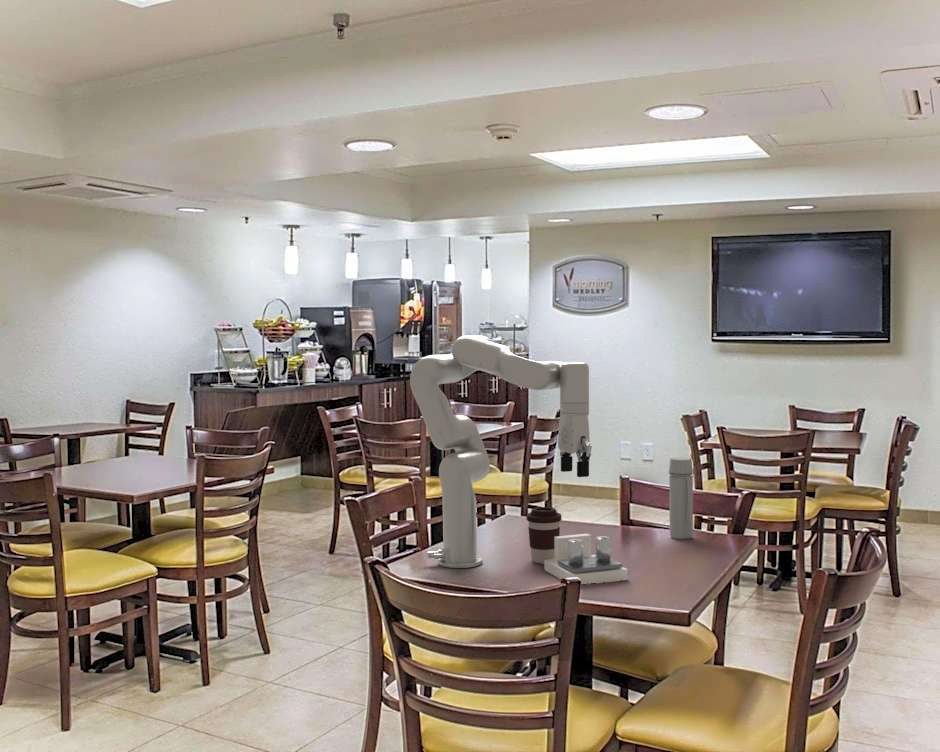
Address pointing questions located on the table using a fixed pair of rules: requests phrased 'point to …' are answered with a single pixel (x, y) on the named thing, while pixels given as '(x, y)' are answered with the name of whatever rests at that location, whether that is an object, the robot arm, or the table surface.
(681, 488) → the water bottle
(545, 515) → the coffee cup
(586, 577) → the scale body
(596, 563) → the grey flat plate
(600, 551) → the glass jar
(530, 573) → the table surface
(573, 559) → the spacer
